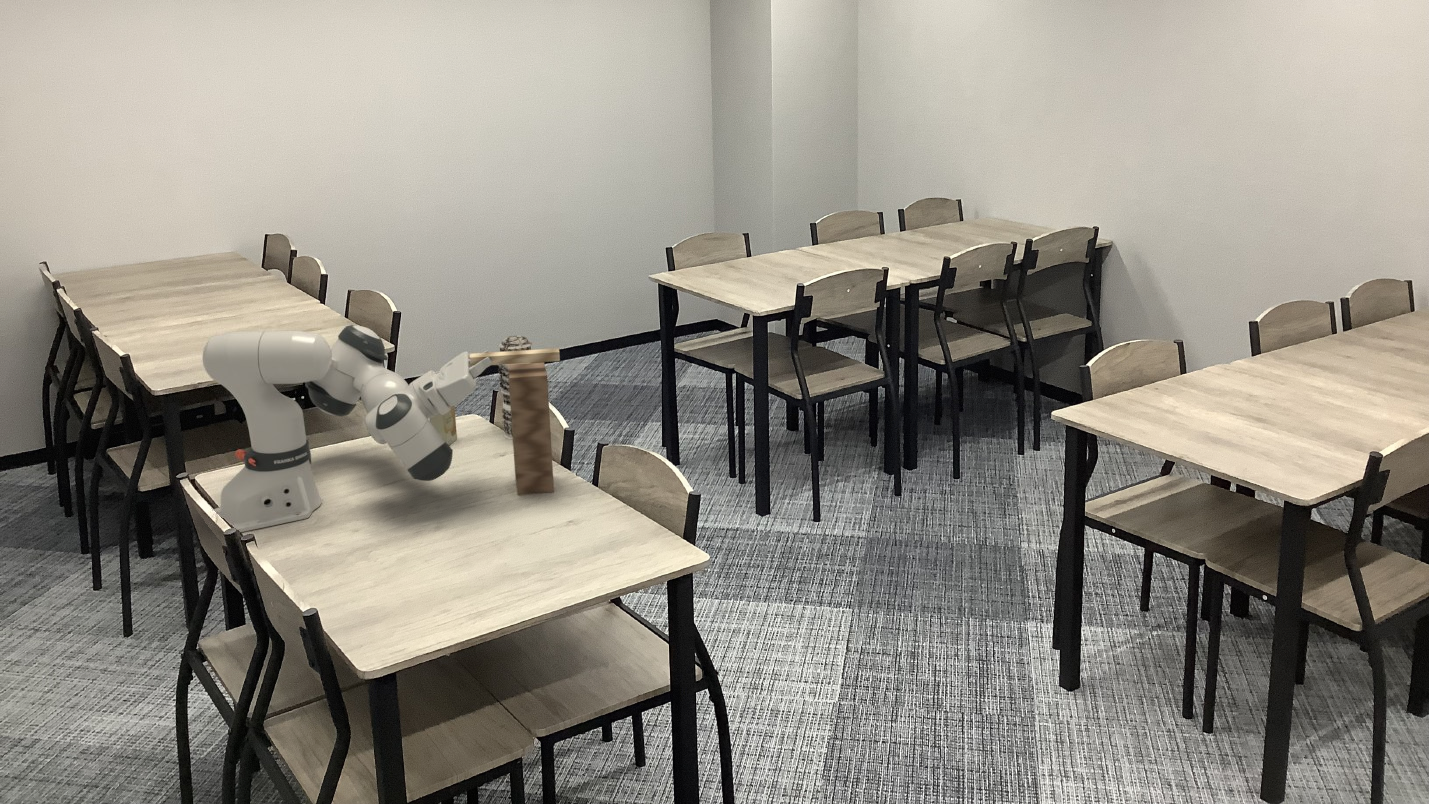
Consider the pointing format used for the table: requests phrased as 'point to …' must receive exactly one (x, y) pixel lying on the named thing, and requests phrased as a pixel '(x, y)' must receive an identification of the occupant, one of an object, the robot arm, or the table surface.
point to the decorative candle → (508, 345)
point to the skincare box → (446, 425)
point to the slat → (517, 356)
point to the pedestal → (531, 428)
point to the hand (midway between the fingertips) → (490, 356)
